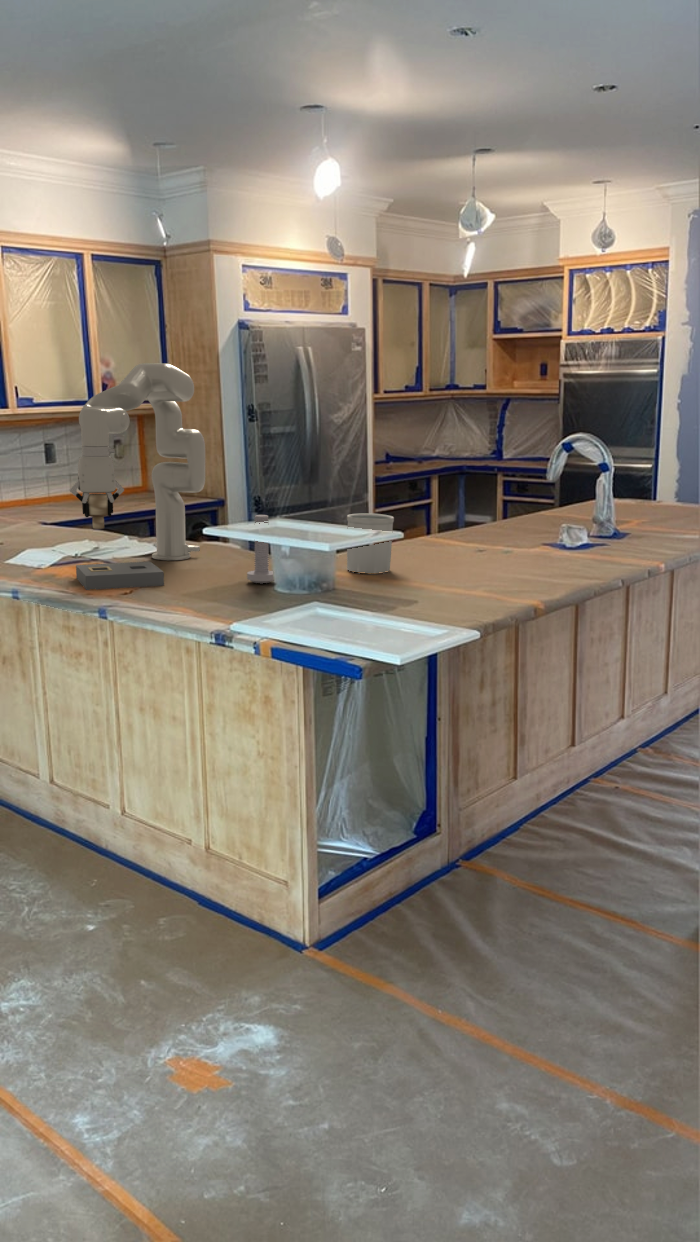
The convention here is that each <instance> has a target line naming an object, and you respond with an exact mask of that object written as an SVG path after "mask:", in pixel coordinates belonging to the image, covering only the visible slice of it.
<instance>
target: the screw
mask: <svg viewBox="0 0 700 1242" xmlns="http://www.w3.org/2000/svg"><path fill="white" fill-rule="evenodd" d="M253 521H254V524H255V523H256V522H264V521H268V522H264V523H268V524H270V522H269V515H267V514H257V515H254V520H253ZM259 524H260V523H259ZM269 547H270V546H269V543H264V542H258V541H255V540H254V570H250V571H247V572H246V575H247V576H246V579H247V580H249V581H250V582H252V583H254V584H257V583H260V584H259V585H264V584H263V583H266V584H268V583H271V582H273V581H274V580H273V570H269V566H270V565H269V561H270V559H269V558H270V557H269Z"/></svg>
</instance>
